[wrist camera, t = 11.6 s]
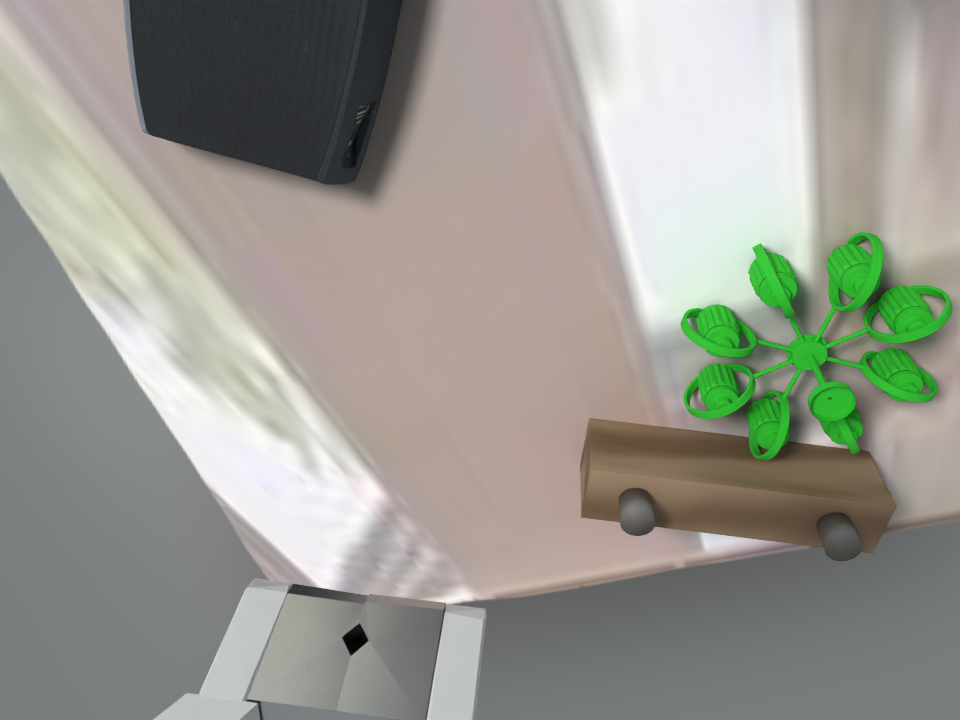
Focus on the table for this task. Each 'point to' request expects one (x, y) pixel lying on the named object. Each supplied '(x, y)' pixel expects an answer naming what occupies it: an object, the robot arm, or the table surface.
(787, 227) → the table surface
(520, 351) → the table surface
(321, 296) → the table surface
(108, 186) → the table surface
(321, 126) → the external hard drive
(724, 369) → the chandelier
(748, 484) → the walnut block
